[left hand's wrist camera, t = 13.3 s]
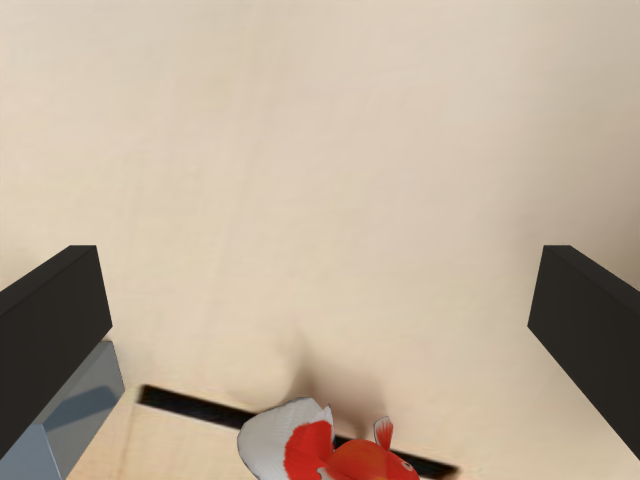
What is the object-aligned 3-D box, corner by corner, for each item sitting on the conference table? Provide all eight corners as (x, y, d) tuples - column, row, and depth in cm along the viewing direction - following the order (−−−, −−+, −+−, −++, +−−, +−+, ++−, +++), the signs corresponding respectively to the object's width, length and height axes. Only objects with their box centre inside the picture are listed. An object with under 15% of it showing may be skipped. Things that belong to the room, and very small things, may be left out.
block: (71, 392, 40) (-7, 485, 30) (55, 343, 38) (-33, 426, 28) (125, 391, 39) (63, 484, 30) (112, 341, 37) (41, 423, 28)
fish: (379, 546, 39) (361, 624, 29) (247, 442, 44) (195, 480, 34) (436, 445, 39) (437, 488, 29) (298, 352, 44) (261, 364, 34)
